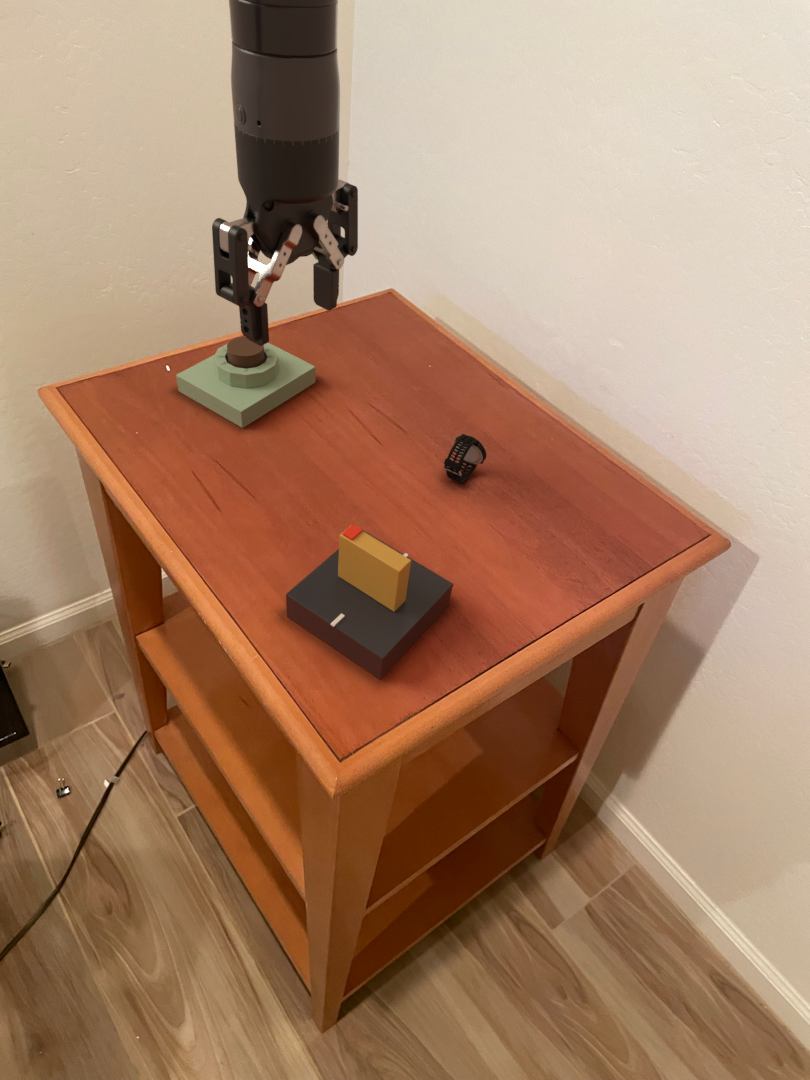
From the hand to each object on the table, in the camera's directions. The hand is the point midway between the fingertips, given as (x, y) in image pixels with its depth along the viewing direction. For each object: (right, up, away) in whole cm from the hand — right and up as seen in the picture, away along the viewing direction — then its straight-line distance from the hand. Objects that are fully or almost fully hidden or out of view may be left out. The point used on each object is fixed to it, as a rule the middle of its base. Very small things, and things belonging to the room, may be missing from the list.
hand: (292, 323), depth 64 cm
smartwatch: (+15, -13, +13) cm, 24 cm away
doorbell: (-8, -1, +21) cm, 22 cm away
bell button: (-8, +1, +18) cm, 20 cm away
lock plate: (+7, -25, -1) cm, 26 cm away
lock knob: (+7, -23, -3) cm, 24 cm away
